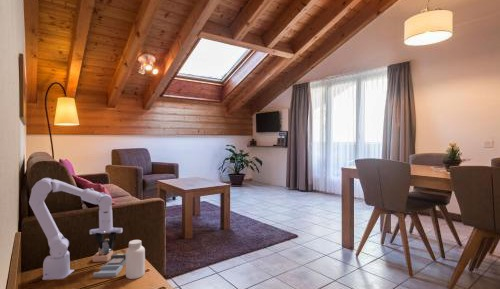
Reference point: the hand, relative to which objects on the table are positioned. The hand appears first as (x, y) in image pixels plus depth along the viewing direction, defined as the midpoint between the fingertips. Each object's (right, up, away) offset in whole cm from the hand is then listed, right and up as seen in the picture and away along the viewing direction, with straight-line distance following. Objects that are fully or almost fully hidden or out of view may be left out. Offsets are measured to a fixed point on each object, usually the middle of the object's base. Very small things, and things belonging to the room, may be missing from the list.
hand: (106, 248), depth 135 cm
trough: (+5, -9, -7) cm, 12 cm away
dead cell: (-6, -8, +8) cm, 13 cm away
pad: (+4, -7, +1) cm, 9 cm away
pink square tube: (-6, -9, +8) cm, 13 cm away
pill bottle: (+18, -9, -10) cm, 22 cm away
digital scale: (+4, -9, +2) cm, 10 cm away
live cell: (0, -2, 0) cm, 2 cm away
